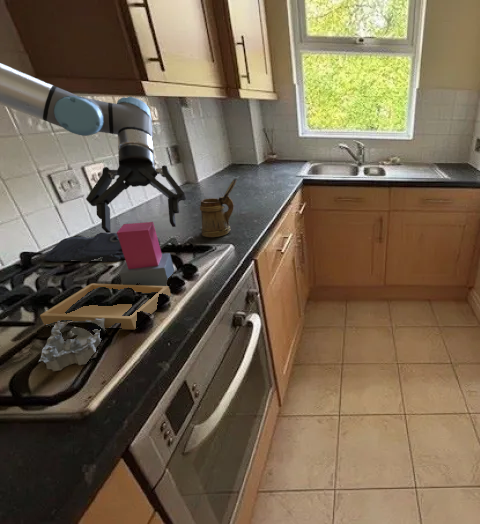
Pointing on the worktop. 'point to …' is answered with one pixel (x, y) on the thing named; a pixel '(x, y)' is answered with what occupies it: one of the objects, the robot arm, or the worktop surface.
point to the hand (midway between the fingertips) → (140, 227)
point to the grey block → (148, 273)
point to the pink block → (140, 245)
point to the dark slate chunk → (87, 249)
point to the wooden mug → (217, 214)
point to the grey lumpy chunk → (70, 346)
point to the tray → (104, 307)
